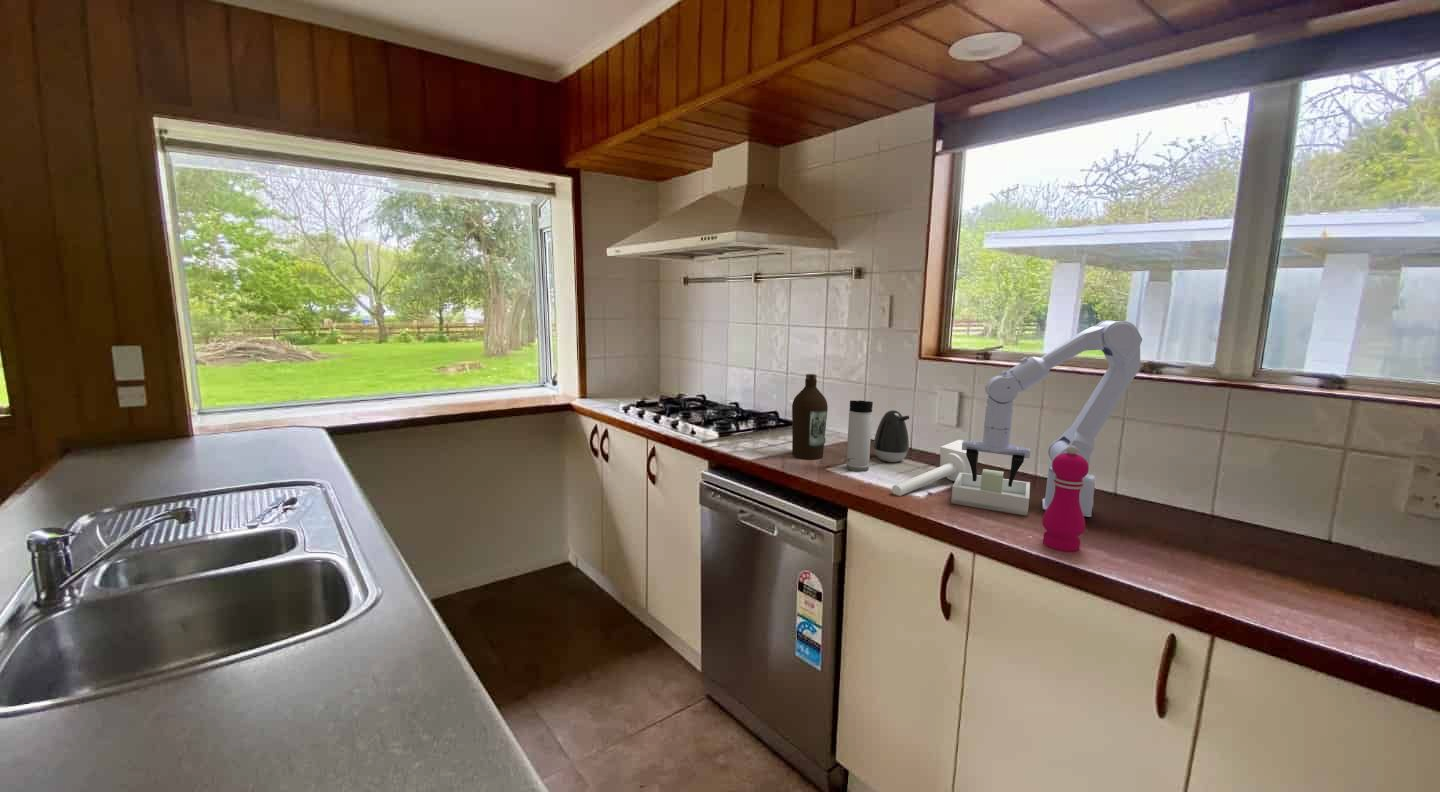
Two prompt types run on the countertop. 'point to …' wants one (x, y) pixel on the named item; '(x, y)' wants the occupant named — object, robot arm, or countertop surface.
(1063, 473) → the pepper mill
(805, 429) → the olive oil
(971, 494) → the grey bin
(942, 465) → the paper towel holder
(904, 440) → the pump dispenser
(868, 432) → the travel mug
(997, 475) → the sage block
